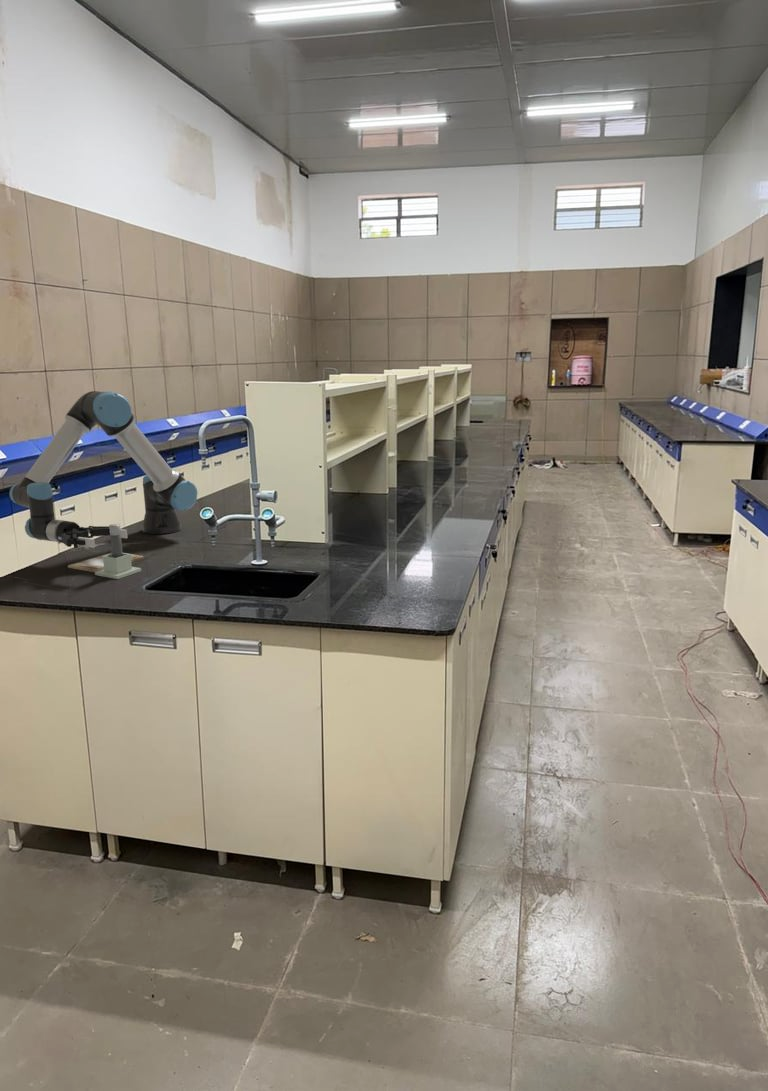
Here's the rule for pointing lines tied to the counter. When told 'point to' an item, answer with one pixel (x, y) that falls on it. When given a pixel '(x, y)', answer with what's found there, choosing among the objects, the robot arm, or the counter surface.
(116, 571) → the square socket holder
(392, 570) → the counter surface
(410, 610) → the counter surface
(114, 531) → the marker
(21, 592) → the counter surface
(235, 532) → the counter surface
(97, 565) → the clipboard
